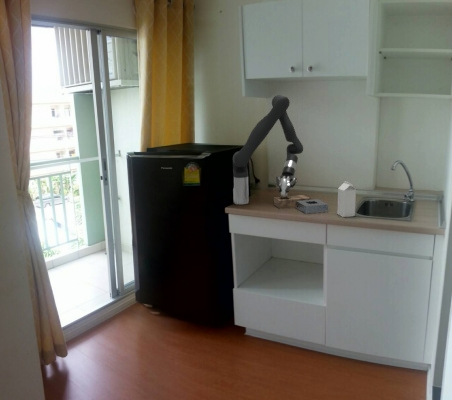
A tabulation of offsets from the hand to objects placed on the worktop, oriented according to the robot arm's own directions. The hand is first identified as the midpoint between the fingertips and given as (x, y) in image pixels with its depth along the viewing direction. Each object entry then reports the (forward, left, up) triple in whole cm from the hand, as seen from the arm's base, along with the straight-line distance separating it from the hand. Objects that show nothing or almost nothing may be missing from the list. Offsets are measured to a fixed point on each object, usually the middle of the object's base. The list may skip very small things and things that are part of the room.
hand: (283, 191), depth 251 cm
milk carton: (+26, -30, -10) cm, 41 cm away
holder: (+13, -13, -9) cm, 21 cm away
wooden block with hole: (+6, +1, -9) cm, 11 cm away
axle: (+1, +2, -8) cm, 8 cm away
